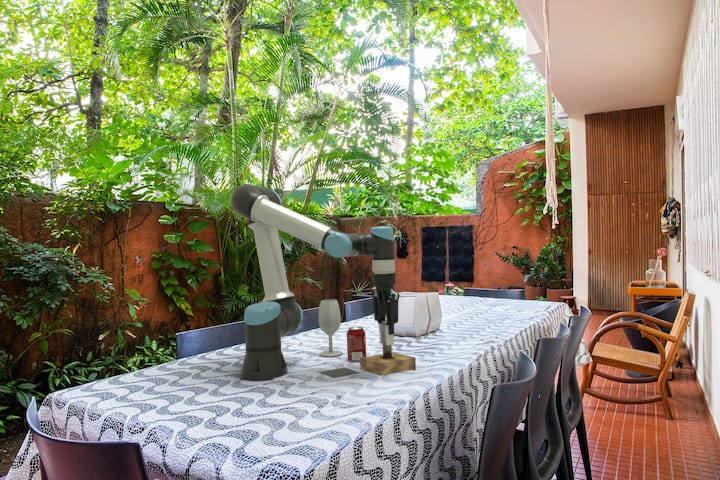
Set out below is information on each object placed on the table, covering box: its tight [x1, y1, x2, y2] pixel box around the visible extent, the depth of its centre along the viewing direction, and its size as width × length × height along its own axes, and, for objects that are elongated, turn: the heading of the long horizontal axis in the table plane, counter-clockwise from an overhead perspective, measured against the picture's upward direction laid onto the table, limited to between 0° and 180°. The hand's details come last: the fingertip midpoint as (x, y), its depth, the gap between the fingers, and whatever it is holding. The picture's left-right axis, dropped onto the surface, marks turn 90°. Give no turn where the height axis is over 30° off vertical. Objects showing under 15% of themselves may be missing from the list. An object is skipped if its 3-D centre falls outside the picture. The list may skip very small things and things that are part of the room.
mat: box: [318, 367, 361, 379], centre depth 164 cm, size 10×10×1 cm
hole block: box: [359, 351, 417, 376], centre depth 167 cm, size 14×12×4 cm
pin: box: [381, 319, 393, 358], centre depth 167 cm, size 3×3×12 cm
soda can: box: [346, 326, 367, 363], centre depth 181 cm, size 7×7×12 cm
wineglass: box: [318, 299, 343, 358], centre depth 194 cm, size 9×9×21 cm
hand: (387, 343), depth 167 cm, fingers closed on pin, 3 cm apart
